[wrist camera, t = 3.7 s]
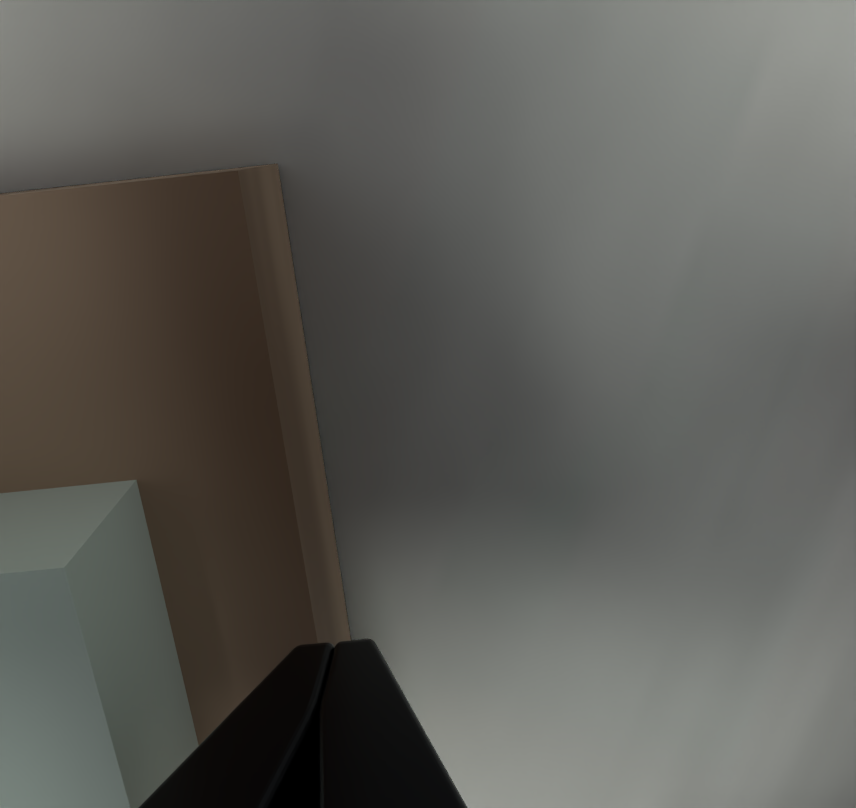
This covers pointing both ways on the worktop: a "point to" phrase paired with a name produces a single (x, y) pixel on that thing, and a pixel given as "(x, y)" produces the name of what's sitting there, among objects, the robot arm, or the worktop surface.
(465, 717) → the worktop surface
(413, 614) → the worktop surface
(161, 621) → the tile
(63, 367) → the walnut ledge
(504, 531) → the worktop surface
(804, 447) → the worktop surface
